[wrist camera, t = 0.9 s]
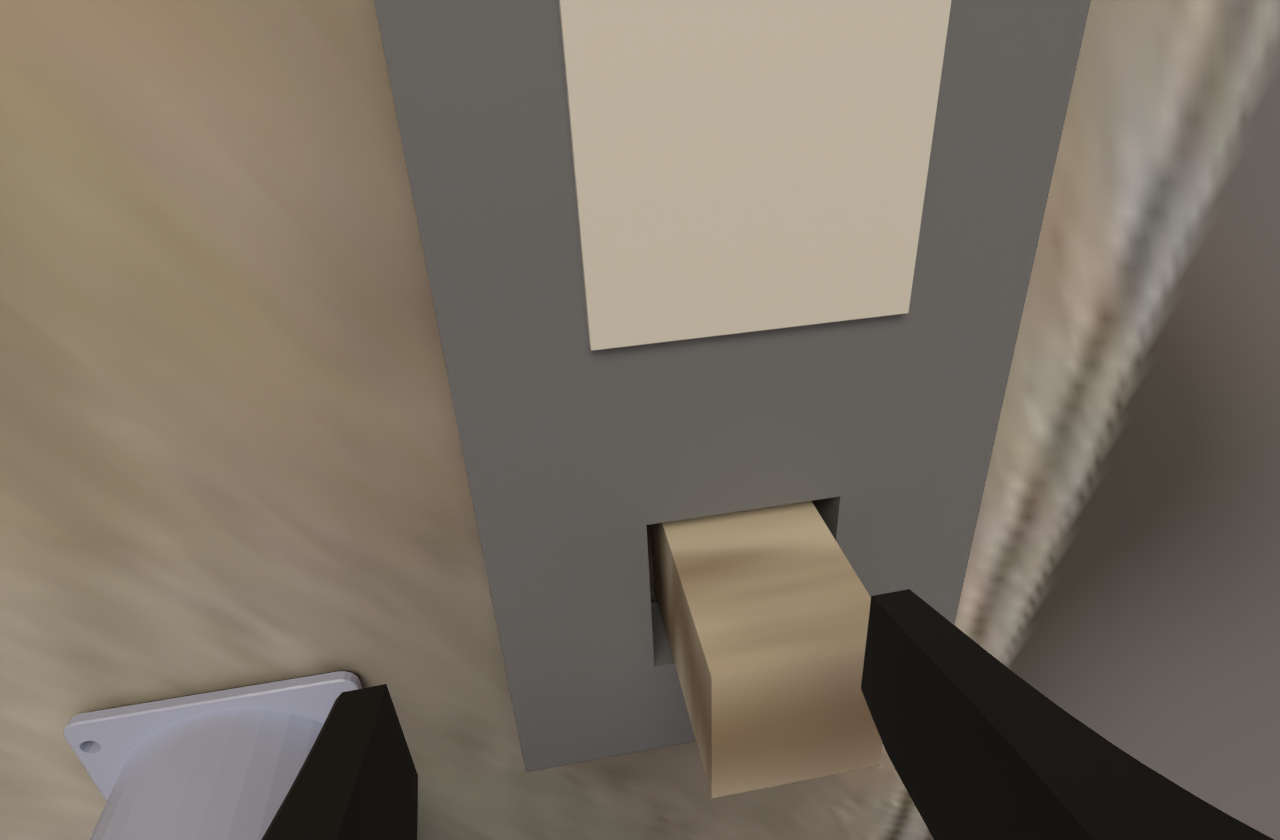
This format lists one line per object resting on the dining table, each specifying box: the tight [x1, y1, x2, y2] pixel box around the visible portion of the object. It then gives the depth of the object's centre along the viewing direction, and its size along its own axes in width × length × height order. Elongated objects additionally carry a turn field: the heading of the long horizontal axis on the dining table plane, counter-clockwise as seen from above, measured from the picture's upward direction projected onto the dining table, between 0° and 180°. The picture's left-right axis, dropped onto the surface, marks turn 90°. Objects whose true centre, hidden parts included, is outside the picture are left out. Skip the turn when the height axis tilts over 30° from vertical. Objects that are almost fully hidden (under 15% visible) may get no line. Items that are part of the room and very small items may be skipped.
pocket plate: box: [374, 0, 1091, 772], centre depth 19 cm, size 22×13×3 cm, turn 3°
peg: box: [651, 501, 883, 798], centre depth 20 cm, size 4×4×7 cm
